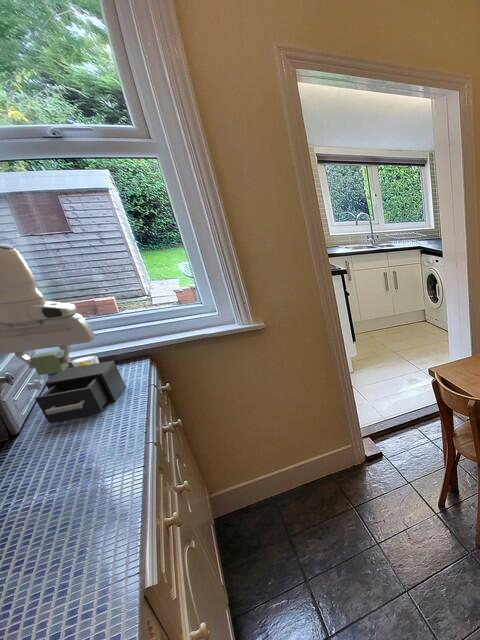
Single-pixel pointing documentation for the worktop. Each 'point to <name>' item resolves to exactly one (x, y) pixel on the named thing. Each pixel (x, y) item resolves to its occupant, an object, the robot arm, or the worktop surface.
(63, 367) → the block
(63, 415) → the drawer
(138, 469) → the worktop surface
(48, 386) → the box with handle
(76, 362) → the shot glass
